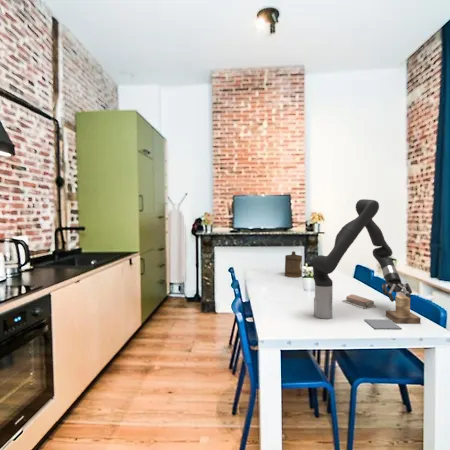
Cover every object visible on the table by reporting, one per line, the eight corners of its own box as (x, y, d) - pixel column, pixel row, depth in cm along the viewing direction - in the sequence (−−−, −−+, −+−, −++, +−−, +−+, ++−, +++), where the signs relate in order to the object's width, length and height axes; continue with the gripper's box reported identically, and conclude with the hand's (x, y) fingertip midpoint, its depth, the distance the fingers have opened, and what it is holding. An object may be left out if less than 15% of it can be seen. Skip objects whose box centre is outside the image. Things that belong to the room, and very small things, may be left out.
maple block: (400, 315, 171) (400, 298, 171) (395, 312, 176) (395, 296, 176) (409, 315, 171) (410, 298, 171) (404, 312, 176) (405, 296, 176)
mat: (374, 329, 160) (374, 328, 160) (364, 320, 173) (364, 319, 173) (401, 329, 160) (401, 328, 160) (389, 320, 173) (389, 319, 173)
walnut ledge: (396, 323, 168) (396, 317, 168) (385, 316, 180) (385, 310, 180) (420, 323, 168) (420, 317, 167) (408, 316, 180) (408, 310, 179)
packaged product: (376, 299, 197) (364, 301, 193) (376, 307, 197) (363, 310, 193) (354, 293, 213) (342, 294, 210) (354, 300, 214) (342, 302, 210)
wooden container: (304, 277, 288) (304, 252, 288) (289, 278, 285) (289, 252, 284) (297, 274, 303) (297, 250, 302) (282, 274, 299) (282, 250, 299)
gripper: (380, 271, 184) (389, 297, 173) (406, 271, 183) (417, 297, 172) (376, 279, 189) (385, 304, 178) (401, 279, 189) (412, 304, 178)
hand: (401, 301), depth 175 cm, fingers open, 8 cm apart
